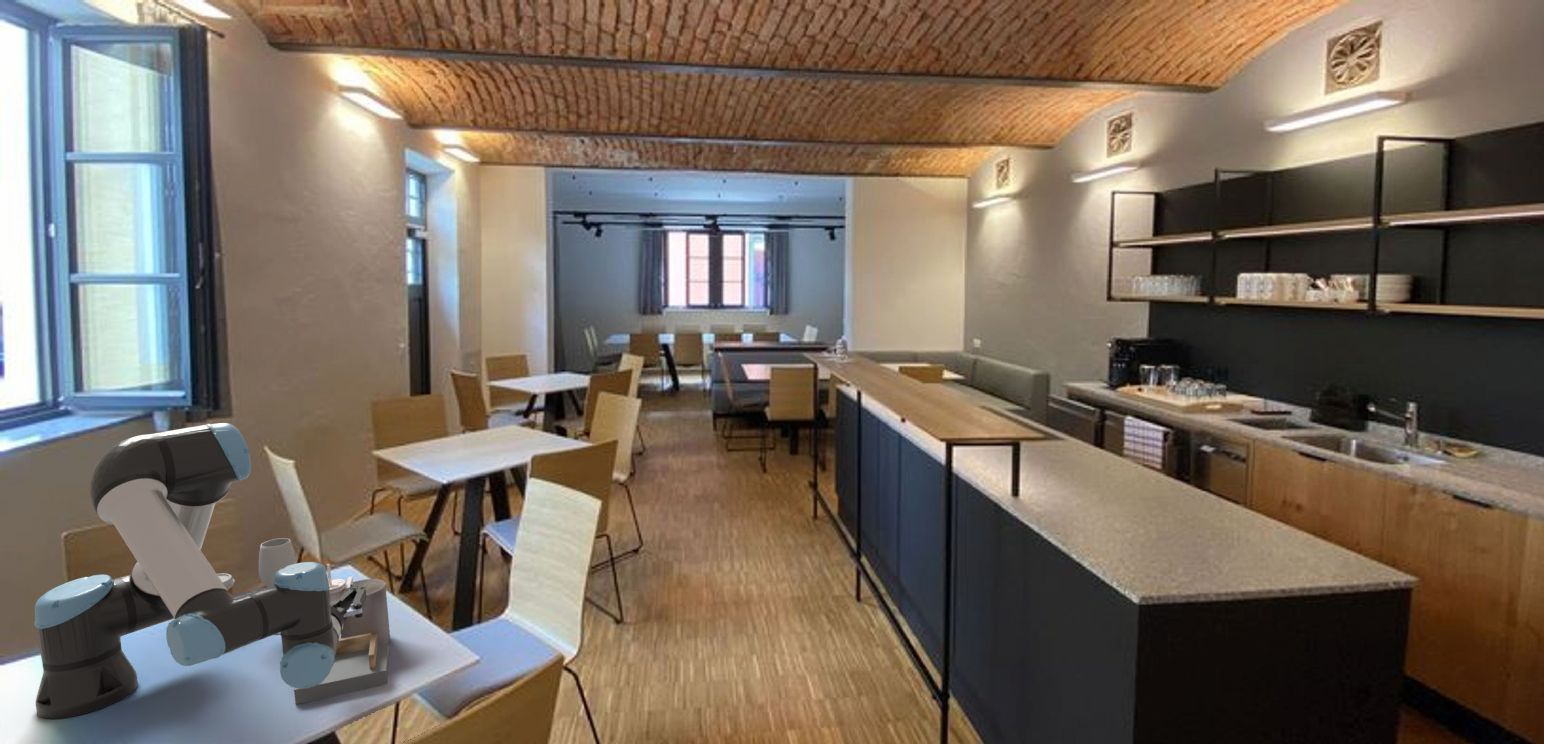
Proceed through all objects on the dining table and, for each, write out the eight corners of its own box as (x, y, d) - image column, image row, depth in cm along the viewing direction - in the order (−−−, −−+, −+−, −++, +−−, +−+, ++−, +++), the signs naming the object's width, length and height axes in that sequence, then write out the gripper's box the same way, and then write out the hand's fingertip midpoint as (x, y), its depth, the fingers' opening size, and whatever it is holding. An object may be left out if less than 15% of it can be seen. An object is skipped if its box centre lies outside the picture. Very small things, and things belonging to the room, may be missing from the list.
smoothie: (333, 638, 152) (326, 571, 150) (306, 635, 153) (299, 569, 151) (357, 623, 158) (351, 559, 156) (331, 621, 159) (324, 557, 157)
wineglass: (279, 619, 185) (270, 536, 182) (310, 619, 185) (301, 536, 182) (257, 634, 178) (248, 548, 175) (289, 634, 177) (280, 548, 175)
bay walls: (307, 682, 150) (305, 668, 150) (313, 657, 160) (312, 643, 160) (375, 668, 155) (374, 654, 155) (377, 644, 165) (376, 631, 165)
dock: (295, 704, 148) (294, 689, 148) (304, 672, 160) (302, 659, 159) (387, 684, 155) (385, 670, 154) (389, 655, 167) (387, 642, 166)
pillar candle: (339, 643, 173) (332, 580, 171) (386, 630, 179) (380, 569, 176) (346, 660, 165) (339, 595, 163) (395, 646, 171) (389, 583, 169)
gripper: (257, 663, 135) (280, 611, 156) (378, 639, 143) (385, 593, 164) (252, 622, 134) (276, 576, 155) (375, 601, 142) (381, 560, 163)
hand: (332, 585), depth 159 cm, fingers closed on smoothie, 6 cm apart
